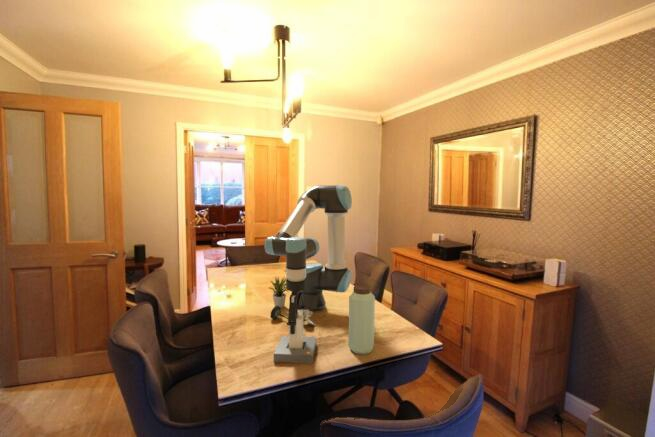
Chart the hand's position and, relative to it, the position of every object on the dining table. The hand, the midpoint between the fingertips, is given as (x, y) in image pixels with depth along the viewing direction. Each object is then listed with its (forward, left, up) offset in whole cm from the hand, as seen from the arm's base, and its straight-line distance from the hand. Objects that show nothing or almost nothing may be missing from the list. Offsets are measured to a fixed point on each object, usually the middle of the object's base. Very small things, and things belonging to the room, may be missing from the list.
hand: (296, 333), depth 120 cm
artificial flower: (-28, -6, -8) cm, 29 cm away
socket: (0, 0, -8) cm, 8 cm away
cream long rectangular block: (0, 0, -8) cm, 8 cm away
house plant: (-46, -17, -8) cm, 50 cm away
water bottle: (-5, +25, -8) cm, 27 cm away
